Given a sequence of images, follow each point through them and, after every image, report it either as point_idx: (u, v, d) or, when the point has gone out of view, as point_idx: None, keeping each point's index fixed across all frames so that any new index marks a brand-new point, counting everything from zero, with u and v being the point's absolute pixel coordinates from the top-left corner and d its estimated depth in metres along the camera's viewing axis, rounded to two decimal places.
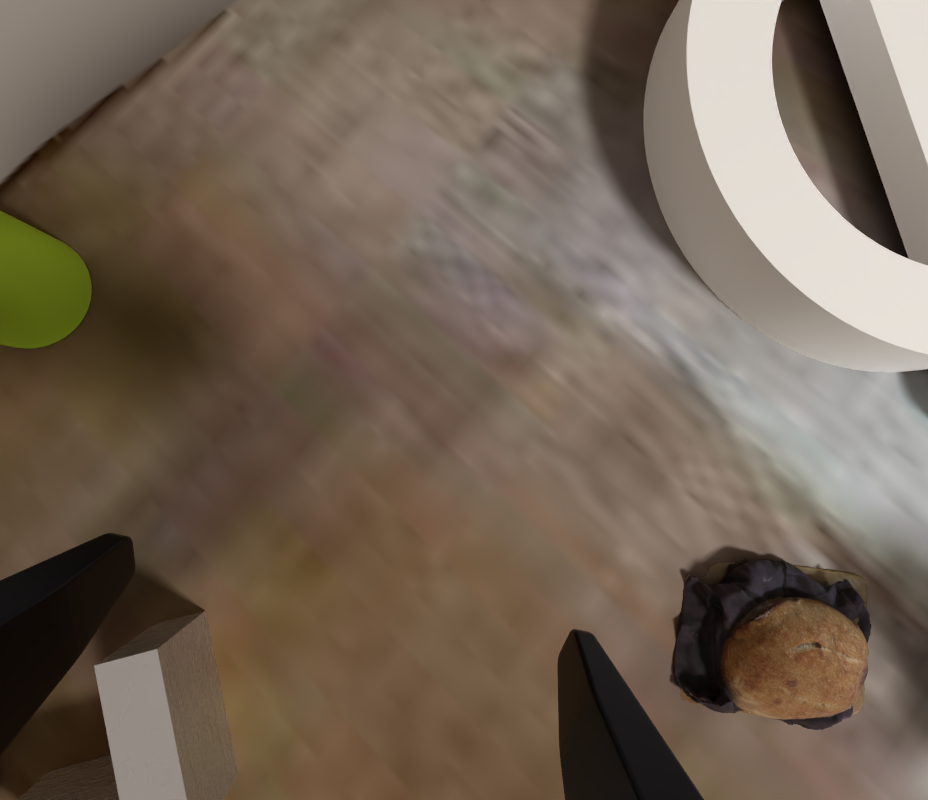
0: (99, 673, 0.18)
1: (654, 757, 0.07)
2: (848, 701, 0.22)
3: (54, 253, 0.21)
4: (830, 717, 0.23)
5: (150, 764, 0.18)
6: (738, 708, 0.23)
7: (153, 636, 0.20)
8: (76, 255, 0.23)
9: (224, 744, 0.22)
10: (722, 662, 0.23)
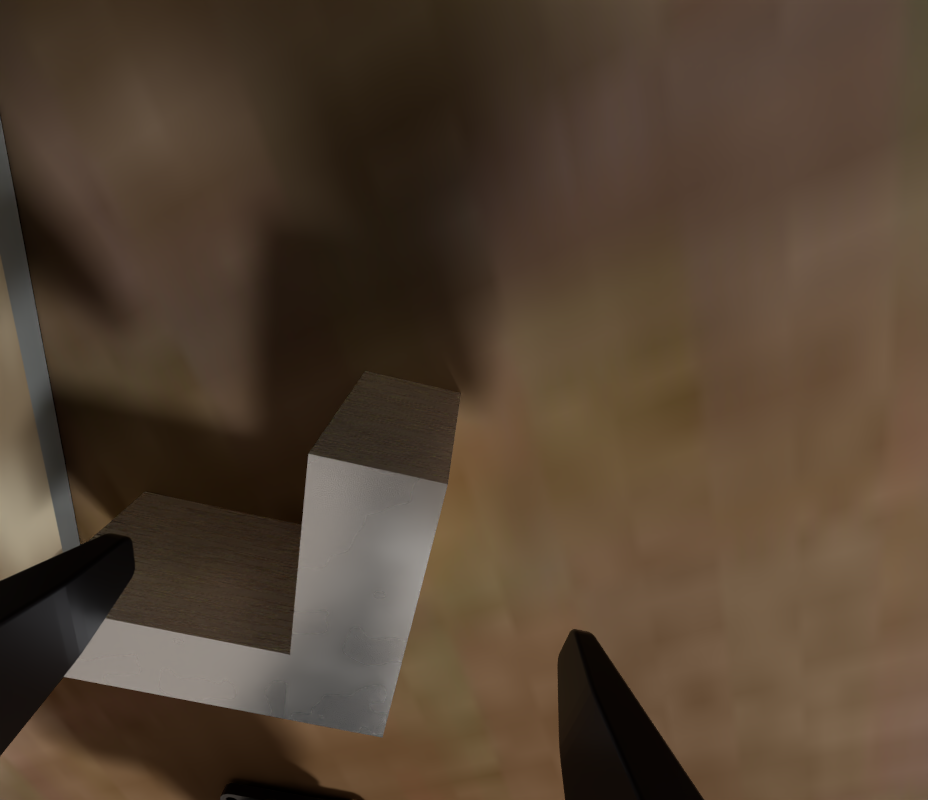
0: (315, 473, 0.08)
1: (654, 757, 0.07)
2: None
3: None
4: None
5: (356, 634, 0.10)
6: None
7: (397, 419, 0.10)
8: None
9: None
10: None
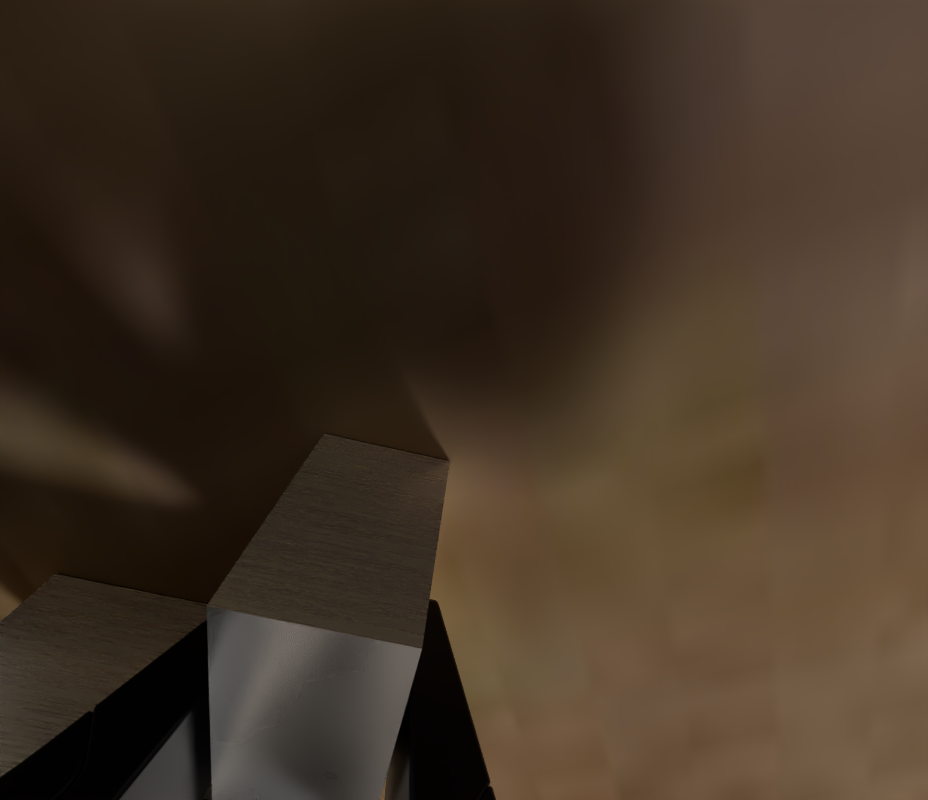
0: (220, 632, 0.05)
1: (446, 716, 0.07)
2: None
3: None
4: None
5: None
6: None
7: (357, 520, 0.07)
8: None
9: None
10: None
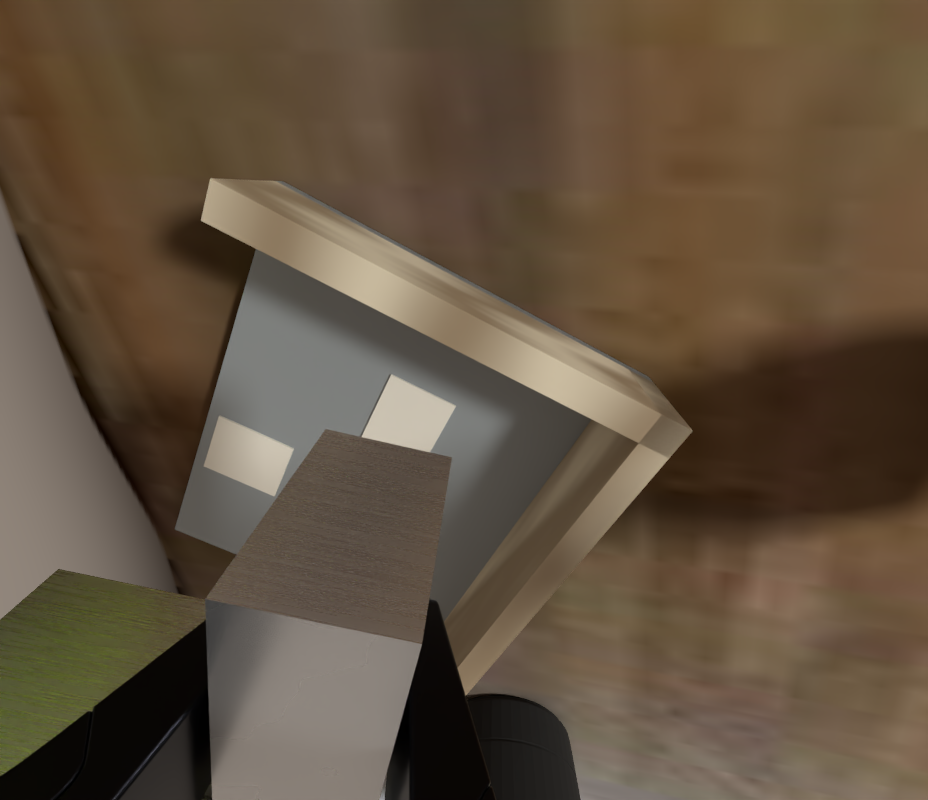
0: (218, 625, 0.05)
1: (446, 716, 0.07)
2: None
3: None
4: None
5: None
6: None
7: (358, 515, 0.07)
8: None
9: None
10: None
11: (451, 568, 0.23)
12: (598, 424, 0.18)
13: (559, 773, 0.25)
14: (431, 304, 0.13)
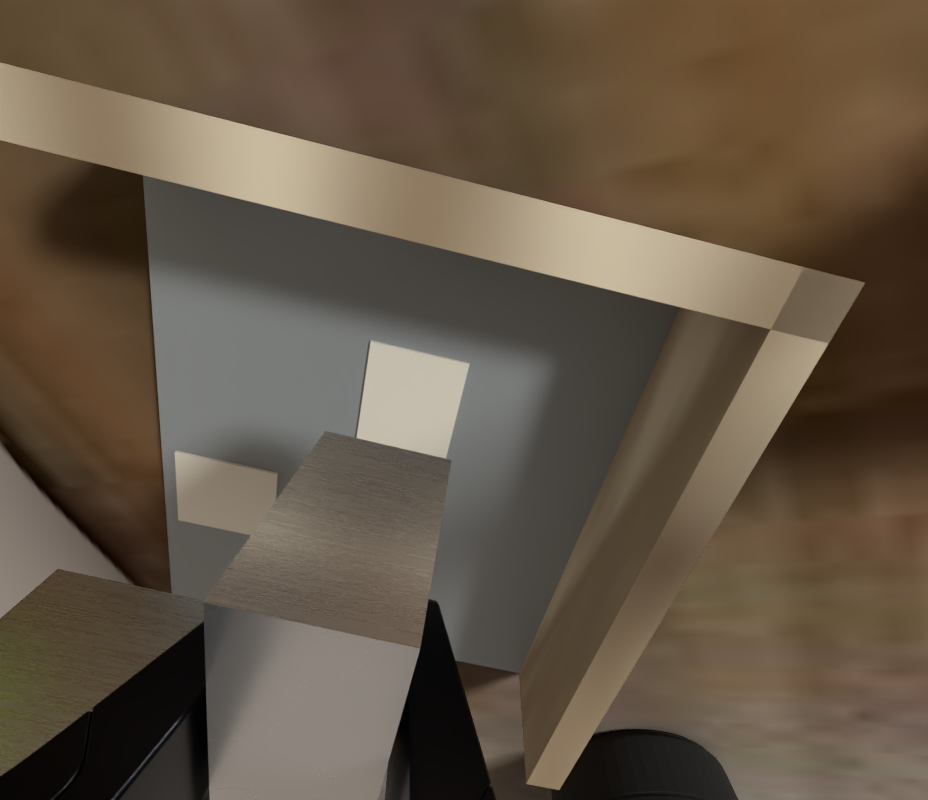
0: (216, 629, 0.05)
1: (446, 716, 0.07)
2: None
3: None
4: None
5: None
6: None
7: (357, 517, 0.07)
8: None
9: None
10: None
11: (519, 585, 0.17)
12: (681, 336, 0.12)
13: None
14: (369, 174, 0.08)
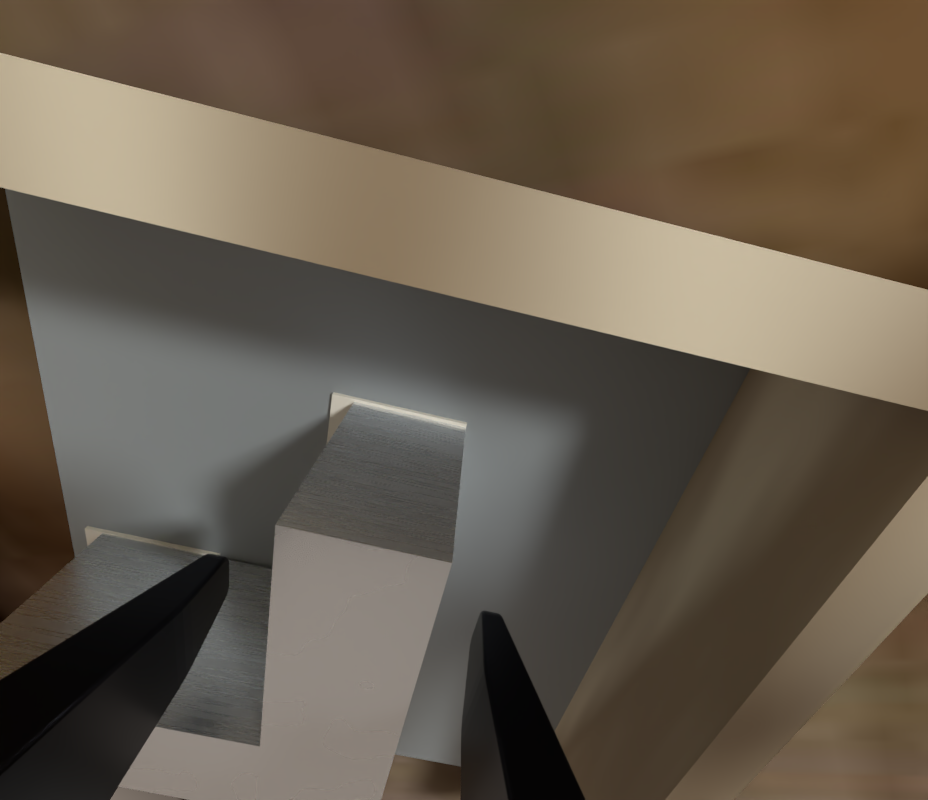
0: (285, 548, 0.06)
1: (532, 733, 0.07)
2: None
3: None
4: None
5: (339, 726, 0.08)
6: None
7: (390, 469, 0.08)
8: None
9: None
10: None
11: None
12: (765, 395, 0.09)
13: None
14: (282, 158, 0.04)
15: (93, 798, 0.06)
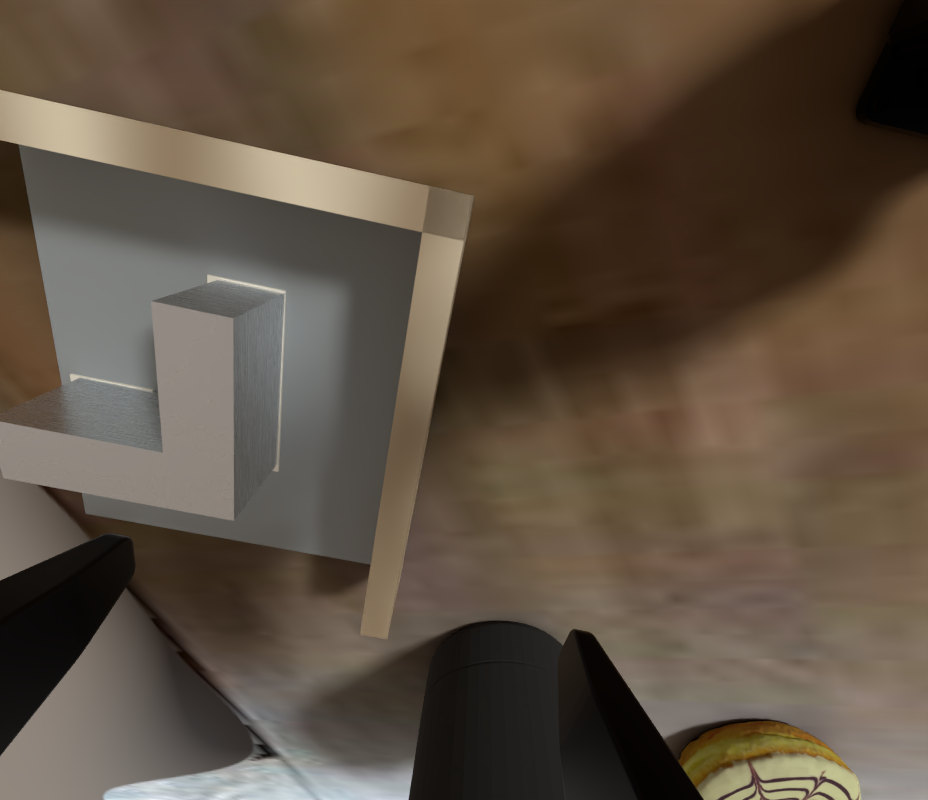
0: (156, 313, 0.14)
1: (654, 757, 0.07)
2: None
3: None
4: None
5: (201, 433, 0.16)
6: None
7: (223, 297, 0.16)
8: None
9: (272, 437, 0.19)
10: None
11: (362, 483, 0.21)
12: None
13: (548, 685, 0.22)
14: (131, 131, 0.12)
15: None
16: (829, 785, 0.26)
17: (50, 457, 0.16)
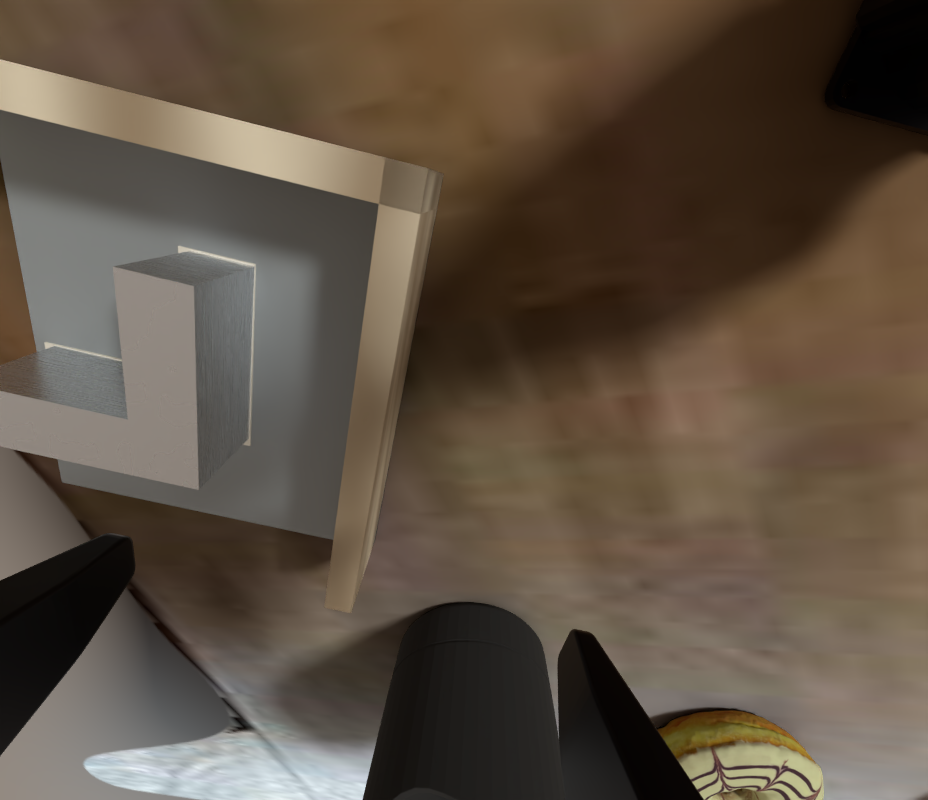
0: (118, 279, 0.14)
1: (654, 757, 0.07)
2: None
3: None
4: None
5: (165, 401, 0.16)
6: None
7: (189, 266, 0.16)
8: None
9: (242, 410, 0.20)
10: None
11: (333, 459, 0.21)
12: None
13: (512, 665, 0.22)
14: (90, 94, 0.12)
15: None
16: (791, 774, 0.26)
17: (18, 421, 0.17)
